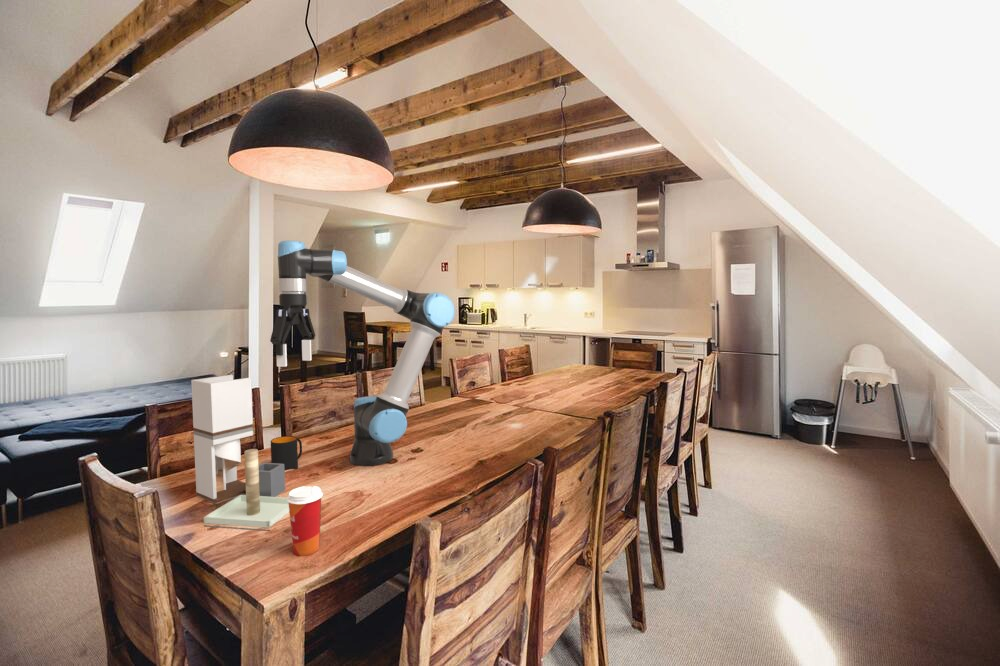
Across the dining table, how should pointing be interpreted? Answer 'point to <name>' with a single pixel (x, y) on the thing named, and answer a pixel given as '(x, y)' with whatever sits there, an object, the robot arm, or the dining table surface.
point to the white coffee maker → (220, 434)
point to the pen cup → (271, 479)
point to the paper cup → (305, 519)
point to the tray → (237, 515)
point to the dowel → (252, 482)
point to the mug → (286, 451)
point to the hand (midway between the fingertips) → (295, 363)
